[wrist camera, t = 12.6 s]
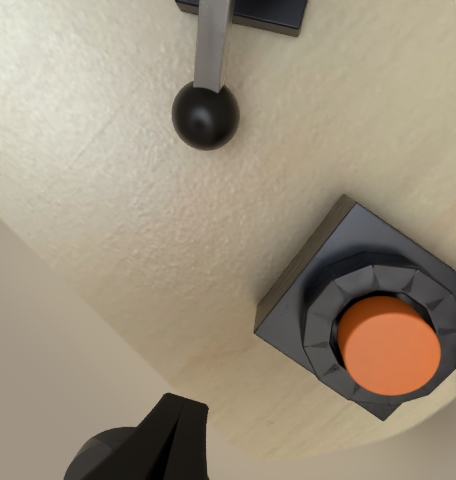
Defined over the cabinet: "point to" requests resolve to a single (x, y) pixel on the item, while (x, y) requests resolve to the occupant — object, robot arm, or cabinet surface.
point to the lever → (208, 83)
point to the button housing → (356, 298)
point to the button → (387, 346)
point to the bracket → (262, 14)
